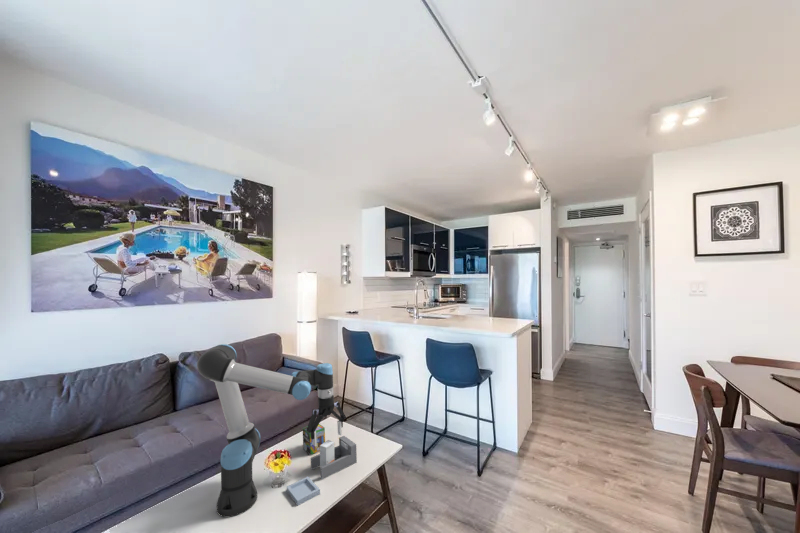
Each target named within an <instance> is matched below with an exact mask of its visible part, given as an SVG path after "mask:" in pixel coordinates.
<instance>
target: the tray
mask: <svg viewBox="0 0 800 533" xmlns="http://www.w3.org/2000/svg"><path fill="white" fill-rule="evenodd" d="M286 492H287V494H288V495H289V496H290V497H291V499H292V501H294V503H295V504H296V506H300V505H301V504H304V503H305V502H308V501H309V500H311V499H313V498H315V497H317V496H319V495H321V489H320V488H319V487H318V485H316V484H315V482H314V481H313V480H312V479H311V478H310V477H309V476H306V477H303V478H301V479H300V480H299V479H298V481H295V482H293V483H291V484H289V485H286Z"/></svg>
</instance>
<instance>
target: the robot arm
mask: <svg viewBox="0 0 800 533" xmlns="http://www.w3.org/2000/svg"><path fill="white" fill-rule="evenodd" d="M237 355H238V354H237V351H236V350H235V348H234V347H233V346H231V345H230V344H227V343H222V344H217V345H215V346H213V347H211V348H210V349H209V350H207V351H205V352H204V353H202V354H201V355H200V356H199V358H198V360H197V361H196V362H197V363H196V368H197V372H198V373H199V375H200V376H202V377H203V378H205V379H206V380H207V379H208V380H209V381H212V382H214V384H215V388H216V390H217V394H218V398H219V401H220V405H221V408H222V412H223V415H224V418H225V422H226V426H227V430H228V433H227V434H226V440H227V444H226V446H225V447H223V448H222V451H221V454H220V459H219V460H220V483H221V486H220V492H219V496H218V499H217V501H216V513H217V512H218V513H219V514H220V515H222V516H221V517H224V516H230V517H235V516H237V515H241V514H243V513H245V512H246V511H249V509H251V508H252V507H253V506H254V505H255V504H256V502H257V501H258V489H257V486H256V485H255V482H254V479H253V462H254V460H255V457H256V454H257V452H258V449H259V447H260V445H261V433H260V431H259V430H258V428H256V427H255V424H254V423H252V422H250V420H249V417H248V414H247V410H246V406H245V402H244V400H243V395H242V392H241V389H240V385H239V384H241V385H244V386H245V385H246V386H249V387H255V388H259V389H264V390H267V391H272V392H277V393H281V394H287V395H292V397H293V398H294V399H295V400H297V401H303V400H305V399H307V398H308V397H309V396H310V393H311V391H312V387H314V386H317V396H318V397H317V403H318V404H317V405H318V408H317V409H314V408H313V409H312V410H311V416H310V419H309V421H308V424H307V426H308V427H307V426H306V427H307V429H306V431H307V432H309V433H311V439H312V440H313V445H314V446H317V441H316V432H315V430H316V428H317V426H318V425H319V424H320V423H321V421H322V420H323V419H324V417H325V418H326V417H327V416H330V415H331V414H332V415H333V416H334V417H335V418H337V419H338V420H337V421H336V422H337V435H339V437H342V436H343V434H342V433H343V432H342V431H343V430H342V428H343V425H344V423H343V422H345V420H346V419H347V416H346V415H345V413H344V411H343V409H342V407H341V404H340V402H339V401H335V396H334V372H333V365H332V364H331V363H328V362H326V363H325V362H324V363H320V364H317V366H316V369H309V370H298V371H297V370H296V371H293V372H292V373H291V375H289V374H285V373H282V372H278V371H272V370H270V369H269V370H268V369H264V368H261V367H255V366H253V365H247V364H243V363H240V362H236V361H237ZM334 409H337V411H338V413H339V414H340V415H339V414H338V413H337V412H336V411H335V410H334ZM218 513H217V514H218ZM219 514H218V515H219ZM220 515H219V516H220Z"/></svg>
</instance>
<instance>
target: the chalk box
mask: <svg viewBox="0 0 800 533" xmlns="http://www.w3.org/2000/svg"><path fill="white" fill-rule="evenodd" d="M307 427H308V425H307V426H304V427H302V448H303V449H302V450H304V451H305V452H306V453H307V454H308V455H310V456H312V455H313V454H316V453H320V445H322V444H323V443H324V442H326V430H325V428H326V427H324V426H323V425H321V424H320V423H319V425H318V426H317V428H316V430H315V432H316V441H317V446H314V445H313V440H312V439H311V433H309V432H307V431H306V429H307Z"/></svg>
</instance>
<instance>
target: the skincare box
mask: <svg viewBox="0 0 800 533" xmlns="http://www.w3.org/2000/svg"><path fill="white" fill-rule="evenodd" d="M334 447H335V441H332V440H330V439H328V440H325V442H324V443H323V444H322V445H320V451H319V454H320V466H319V468H320V467H322V466H324V465H326V464H328V463H331V462H333V461H335V460H336V459H335V458H334Z"/></svg>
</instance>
